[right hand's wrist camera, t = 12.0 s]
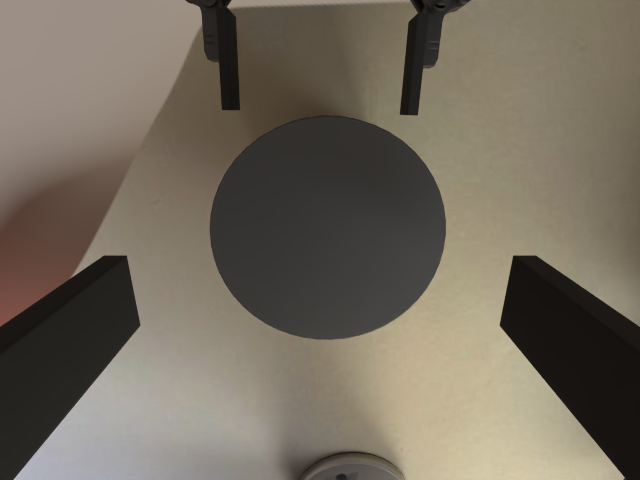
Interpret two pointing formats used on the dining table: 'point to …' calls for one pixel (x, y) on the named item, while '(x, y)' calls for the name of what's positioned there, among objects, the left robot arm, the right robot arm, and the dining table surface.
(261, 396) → the dining table surface
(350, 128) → the lid
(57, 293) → the right robot arm
